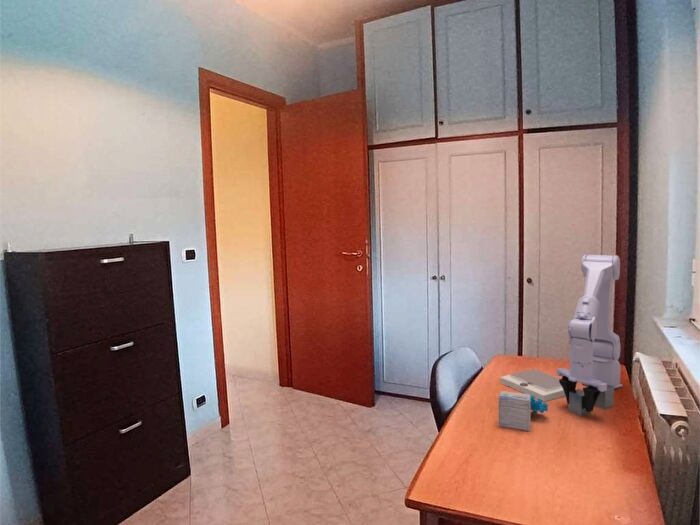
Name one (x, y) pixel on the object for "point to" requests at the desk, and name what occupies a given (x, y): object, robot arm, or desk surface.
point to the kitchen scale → (535, 384)
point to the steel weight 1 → (577, 403)
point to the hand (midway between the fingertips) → (579, 407)
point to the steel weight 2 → (606, 398)
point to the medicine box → (514, 410)
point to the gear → (538, 405)
